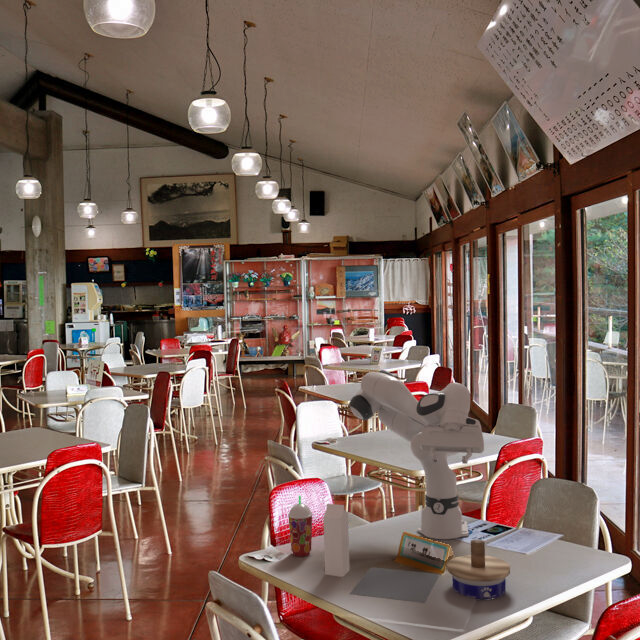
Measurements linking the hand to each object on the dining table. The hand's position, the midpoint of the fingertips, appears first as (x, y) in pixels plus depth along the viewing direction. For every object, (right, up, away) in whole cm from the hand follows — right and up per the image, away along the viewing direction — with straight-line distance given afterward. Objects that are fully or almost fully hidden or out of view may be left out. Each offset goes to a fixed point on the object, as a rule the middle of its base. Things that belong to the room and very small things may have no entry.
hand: (449, 461), depth 220 cm
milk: (-35, -36, +1) cm, 50 cm away
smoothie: (-47, -36, +20) cm, 63 cm away
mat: (-18, -35, -10) cm, 41 cm away
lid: (+6, -29, -15) cm, 33 cm away
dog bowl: (+6, -35, -15) cm, 38 cm away
